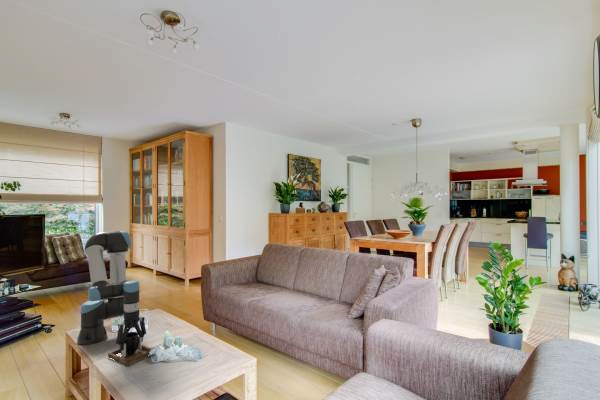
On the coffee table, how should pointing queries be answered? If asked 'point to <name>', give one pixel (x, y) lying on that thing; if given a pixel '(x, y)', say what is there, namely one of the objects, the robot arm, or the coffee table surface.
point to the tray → (130, 356)
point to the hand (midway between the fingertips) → (131, 352)
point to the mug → (132, 342)
